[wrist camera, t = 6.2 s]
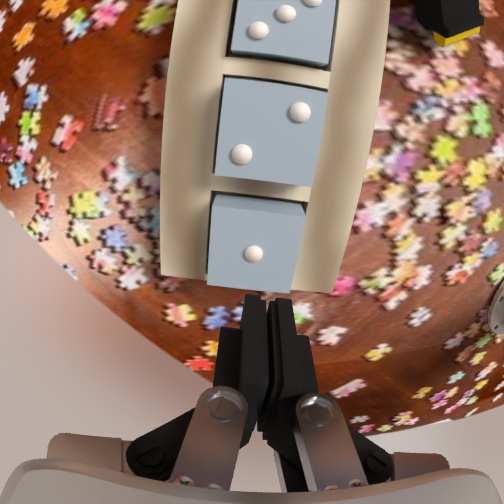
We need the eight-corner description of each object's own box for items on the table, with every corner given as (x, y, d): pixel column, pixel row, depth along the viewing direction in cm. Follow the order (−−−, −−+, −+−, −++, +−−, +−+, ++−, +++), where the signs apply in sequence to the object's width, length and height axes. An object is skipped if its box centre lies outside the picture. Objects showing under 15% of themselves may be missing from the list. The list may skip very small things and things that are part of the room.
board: (373, 7, 16) (390, -5, 13) (324, 270, 28) (332, 293, 24) (194, -20, 16) (185, -37, 12) (171, 254, 27) (161, 274, 24)
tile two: (319, 93, 18) (329, 92, 15) (305, 177, 20) (312, 188, 18) (228, 80, 17) (224, 77, 15) (219, 166, 20) (214, 176, 18)
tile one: (300, 204, 21) (306, 218, 19) (286, 275, 24) (289, 295, 22) (216, 193, 21) (211, 206, 19) (211, 266, 24) (206, 286, 22)
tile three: (328, -3, 15) (338, -15, 13) (320, 67, 18) (328, 63, 15) (244, -16, 15) (243, -30, 12) (233, 55, 18) (230, 49, 15)
